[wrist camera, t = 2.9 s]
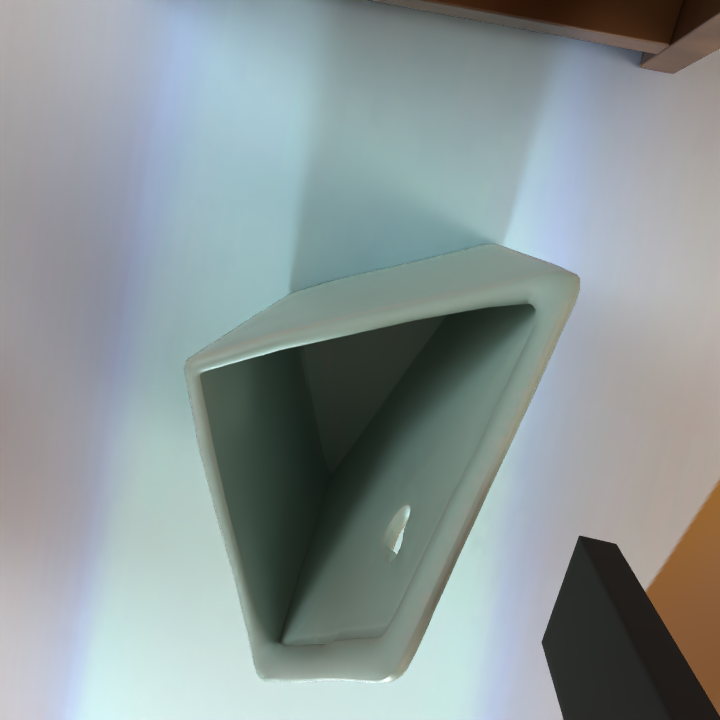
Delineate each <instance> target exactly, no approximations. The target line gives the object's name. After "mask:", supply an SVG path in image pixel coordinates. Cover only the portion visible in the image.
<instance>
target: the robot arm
mask: <svg viewBox="0 0 720 720" xmlns="http://www.w3.org/2000/svg"><path fill="white" fill-rule="evenodd" d="M542 645H543V649H544V652H545V656H546V659H547V663H548V666H549V670H550V673H551V677H552V680H553V684H554V687H555V691H556V694H557V698H558V701H559V705H560V708H561V712H562V715H563V719H564V720H720V716H719V715H718V713H717V711H716V710H715V708H714V706H713V705H712V703H711V701H710V700H709V698H708V696H707V695H706V693H705V691H704V690H703V688H702V686H701V685H700V683H699V681H698V680H697V678H696V676H695V675H694V673H693V671H692V670H691V668H690V666H689V665H688V663H687V661H686V660H685V658H684V656H683V655H682V653H681V651H680V650H679V648H678V646H677V644H676V643H675V641H674V639H673V638H672V636H671V635H670V633H669V631H668V630H667V628H666V626H665V624H664V623H663V621H662V619H661V618H660V616H659V614H658V613H657V611H656V610H655V608H654V606H653V604H652V603H651V601H650V600H649V598H648V596H647V595H646V593H645V591H644V589H643V588H642V586H641V584H640V583H639V581H638V579H637V578H636V576H635V574H634V573H633V571H632V569H631V568H630V566H629V564H628V563H627V561H626V559H625V558H624V556H623V554H622V553H621V551H620V549H619V548H618V546H617V544H614V543H610V542H605V541H601V540H597V539H592V538H588V537H584V536H579V538H578V540H577V543H576V546H575V549H574V552H573V555H572V557H571V560H570V563H569V566H568V569H567V572H566V574H565V577H564V580H563V583H562V586H561V589H560V591H559V594H558V597H557V600H556V603H555V606H554V608H553V611H552V614H551V617H550V620H549V623H548V625H547V628H546V631H545V634H544V637H543V640H542Z"/></svg>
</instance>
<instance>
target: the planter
mask: <svg viewBox="0 0 720 720" xmlns="http://www.w3.org/2000/svg"><path fill="white" fill-rule="evenodd" d="M579 290H580V278H579V277H578V275H576V274H574V273H572V272H570V271H568V270H566V269H564V268H562V267H560V266H557V265H554V264H552V263H549V262H546V261H543V260H540V259H537V258H535V257H532V256H529V255H526V254H523V253H520V252H518V251H515V250H512V249H509V248H506V247H504V246H501V245H497V244H484V245H480V246H476V247H472V248H468V249H464V250H460V251H456V252H452V253H447V254H443V255H439V256H435V257H431V258H426V259H422V260H418V261H414V262H409V263H405V264H401V265H396V266H392V267H388V268H383V269H379V270H375V271H370V272H366V273H362V274H358V275H353V276H349V277H345V278H341V279H337V280H333V281H330V282H326V283H323V284H319V285H316V286H313V287H309V288H306V289H302V290H299V291H296V292H292V293H290V294H288V295H287V296H285V297H284V298H282V299H281V300H279V301H278V302H276V303H274V304H273V305H271V306H269V307H268V308H266V309H264V310H263V311H261V312H260V313H258V314H256V315H255V316H253V317H252V318H250V319H248V320H247V321H245V322H244V323H242V324H241V325H239V326H238V327H236V328H235V329H233V330H232V331H230V332H229V333H227V334H226V335H224V336H223V337H221V338H220V339H218V340H217V341H215V342H213V343H212V344H210V345H209V346H207V347H206V348H204V349H202V350H201V351H199V352H198V353H196V354H195V355H193V356H191V357H190V358H188V360H187V361H186V363H185V367H184V370H185V375H186V381H187V386H188V391H189V397H190V402H191V408H192V413H193V418H194V424H195V429H196V435H197V440H198V446H199V451H200V454H201V458H202V462H203V466H204V470H205V473H206V477H207V481H208V485H209V489H210V492H211V496H212V500H213V504H214V507H215V511H216V515H217V519H218V522H219V526H220V529H221V533H222V536H223V540H224V543H225V547H226V550H227V554H228V557H229V561H230V564H231V568H232V571H233V575H234V579H235V583H236V587H237V591H238V595H239V600H240V604H241V608H242V612H243V616H244V621H245V625H246V629H247V633H248V638H249V643H250V647H251V652H252V657H253V662H254V666H255V669H256V673H257V675H258V676H259V677H260V679H262V680H263V681H266V682H278V681H279V682H314V681H325V680H336V681H357V682H374V683H390V682H393V681H395V680H396V679H398V678H399V677H401V676H402V675H403V674H404V672H405V671H406V670H407V668H408V667H409V665H410V663H411V661H412V659H413V657H414V655H415V653H416V651H417V649H418V647H419V645H420V643H421V641H422V638H423V636H424V634H425V632H426V630H427V627H428V625H429V623H430V620H431V618H432V615H433V613H434V611H435V608H436V606H437V604H438V602H439V600H440V597H441V595H442V593H443V591H444V588H445V586H446V584H447V582H448V579H449V577H450V575H451V573H452V570H453V568H454V566H455V564H456V561H457V559H458V557H459V555H460V553H461V550H462V548H463V546H464V544H465V542H466V540H467V537H468V535H469V533H470V531H471V529H472V527H473V524H474V522H475V520H476V518H477V516H478V513H479V511H480V509H481V507H482V504H483V502H484V500H485V498H486V496H487V493H488V491H489V489H490V487H491V485H492V483H493V481H494V478H495V476H496V474H497V472H498V470H499V468H500V466H501V464H502V461H503V459H504V457H505V455H506V453H507V451H508V449H509V446H510V444H511V442H512V440H513V438H514V436H515V434H516V431H517V429H518V427H519V425H520V423H521V421H522V419H523V416H524V414H525V412H526V410H527V408H528V406H529V404H530V402H531V399H532V397H533V395H534V393H535V391H536V388H537V386H538V384H539V382H540V380H541V377H542V375H543V373H544V371H545V368H546V366H547V364H548V362H549V359H550V357H551V355H552V352H553V350H554V348H555V346H556V343H557V341H558V339H559V337H560V334H561V332H562V330H563V328H564V326H565V324H566V322H567V320H568V318H569V315H570V313H571V311H572V309H573V307H574V304H575V302H576V299H577V297H578V294H579ZM406 523H407V524H406ZM405 524H406V527H405V529H404V534H403V541H402V545H401V548H400V550H399V552H398V554H396V553H395V552H393V549H394V546H395V543H396V541H397V538H398V536H399V534H400V532H401V530H402V529H403V527H404V525H405Z"/></svg>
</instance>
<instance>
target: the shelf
mask: <svg viewBox="0 0 720 720" xmlns="http://www.w3.org/2000/svg"><path fill="white" fill-rule="evenodd" d="M369 1H375V2H380V3H385V4H391V5H396V6H402V7H407V8H412V9H418V10H423V11H428V12H434V13H439V14H444V15H450V16H455V17H460V18H466V19H471V20H477V21H482V22H487V23H493V24H498V25H503V26H509V27H514V28H519V29H525V30H530V31H536V32H541V33H546V34H552V35H557V36H562V37H568V38H573V39H578V40H584V41H589V42H594V43H600V44H605V45H611V46H616V47H621V48H627V49H632V50H637V51H643V52H644V53H643V56H642V59H641V62H640V67H641V68H646V69H651V70H656V71H662V72H667V73H672V74H673V73H676V72H678V71H679V70H681V69H683V68H685V67H687V66H689V65H690V64H692V63H694V62H696V61H698V60H699V59H701V58H703V57H705V56H707V55H709V54H710V53H712V52H714V51H716V50H718V49H720V0H369Z"/></svg>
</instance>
